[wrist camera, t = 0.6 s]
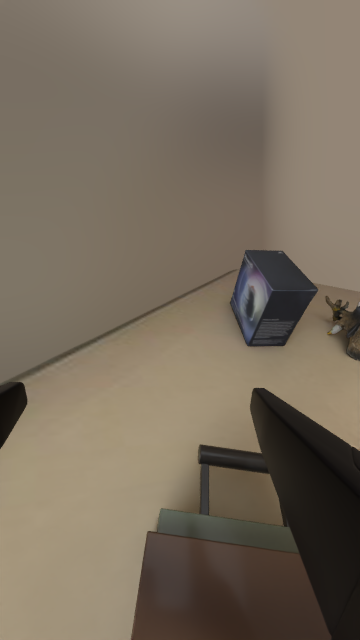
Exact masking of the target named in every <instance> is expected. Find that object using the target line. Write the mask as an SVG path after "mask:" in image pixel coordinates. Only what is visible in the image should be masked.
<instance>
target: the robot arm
mask: <svg viewBox="0 0 360 640" xmlns="http://www.w3.org/2000/svg"><path fill="white" fill-rule="evenodd" d="M26 405H27V396H26V391H25V386H24V384H23V383H21V382H9V383H7V384H4V385H2V386H0V449H1V447H2V446H3V444H4V443H5V441H6V440H7V438H8V436H9V435H10V433H11V431H12V429H13V428H14V426H15V424H16V423H17V421H18V419H19V418H20V416H21V414H22V413H23V411H24V409H25V408H26ZM250 411H251V415H252V419H253V423H254V427H255V430H256V434H257V438H258V442H259V446H260V449H261V452H262V455H263V458H264V460H265V463H266V466H267V468H268V471H269V474H270V476H271V479H272V482H273V484H274V487H275V490H276V492H277V495H278V498H279V500H280V503H281V506H282V508H283V511H284V514H285V516H286V519H287V522H288V524H289V527H290V530H291V532H292V535H293V538H294V540H295V543H296V546H297V548H298V551H299V554H300V556H301V559H302V562H303V564H304V567H305V570H306V572H307V575H308V578H309V580H310V583H311V586H312V588H313V591H314V594H315V596H316V599H317V602H318V604H319V607H320V610H321V612H322V615H323V618H324V620H325V623H326V626H327V628H328V631H329V633H330V635H331V636H332V637H331V639H332V640H360V451H359V450H357V449H356V448H354V447H351V445H349V444H348V443H346V442H345V441H343V440H342V439H340V438H339V437H337V436H336V435H334V434H333V433H331V432H330V431H328V430H327V429H325V428H324V427H322V426H321V425H319V424H318V423H316V422H315V421H313V420H312V419H310V418H309V417H307V416H306V415H304V414H303V413H301V412H299V411H298V410H296V409H295V408H293V407H292V406H290V405H289V404H287V403H286V402H284V401H283V400H281V399H280V398H278V397H277V396H275V395H274V394H272V393H271V392H269V391H268V390H266V389H265V388H254V389H253V391H252V397H251V404H250Z"/></svg>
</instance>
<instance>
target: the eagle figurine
mask: <svg viewBox="0 0 360 640" xmlns="http://www.w3.org/2000/svg"><path fill="white" fill-rule="evenodd" d="M326 302H327V304H328V305H329V306H330V307H331V308H332V310H333V321H336V320H339V321H338V322H337V323H336V325H335V326H334V327H333V328H332V329H331V331H330V332H328V333H327V334H335V333H337V332H339V331H340V330H342V329H346V331H347V338H349V339H350V340H349V345H348V348H347V354H349V355H350V356H351V357H354V359H355V360H359V361H360V302H359V303H358V305H357V307H356V309H355V310H354V311H353V312H349V311H346V310H345V309H346V308H348V305H349V302H348V301H347V303H346V305H344V306H343V307H341V308H340V306H341V302H342V300H337V301H336V303H335V304H333V303H332V302H331V301H330V300H329V297H328V296H326ZM340 314H342V316H343V317H340V316H339V315H340Z"/></svg>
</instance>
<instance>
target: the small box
mask: <svg viewBox="0 0 360 640" xmlns="http://www.w3.org/2000/svg"><path fill="white" fill-rule="evenodd" d="M317 292H318V289H317V287H316V286H315V285H314V284H313V283H312V282H311V281H310V280H309V279H308V278H307V277H306V276H305V275H304V274H303V273H302V272H301V270H300V269H299V268H298V267H297V266H296V265H295V264H294V263H293V262H292V261H291V260H290V259H289V258H288V256H287V255H286V254H285V253H284V252H283V251H264V250H246V251H245V255H244V258H243V261H242V265H241V268H240V272H239V275H238V278H237V282H236V285H235V288H234V292H233V295H232V298H231V302H230V304H231V306H232V309H233V311H234V314H235V316H236V319H237V321H238V324H239V326H240V329H241V331H242V334H243V336H244V338H245V341H246V343H247V346H284V345H285V344H286V342H287V340H288V338H289V337H290V335H291V333H292V332H293V330H294V328H295V327H296V325H297V323H298V322H299V320H300V318H301V317H302V315H303V313H304V312H305V309H306V308H307V306H308V305H309V303H310V302H311V300H312V299H313V297H314V296H315V295H316V293H317Z"/></svg>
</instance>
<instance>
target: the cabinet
mask: <svg viewBox="0 0 360 640" xmlns="http://www.w3.org/2000/svg"><path fill="white" fill-rule="evenodd" d="M331 637H332V636H331V635H330V633H329V631H328V628H327V626H326V623H325V620H324V618H323V615H322V612H321V610H320V607H319V604H318V602H317V599H316V596H315V594H314V591H313V588H312V586H311V583H310V580H309V578H308V575H307V572H306V570H305V567H304V564H303V562H302V559H301V556H300V554H299V553H293V552H286V551H280V550H273V549H266V548H259V547H253V546H246V545H239V544H232V543H226V542H219V541H212V540H205V539H199V538H192V537H185V536H178V535H172V534H165V533H158V532H151V531H148V532H147V538H146V544H145V551H144V557H143V564H142V570H141V577H140V584H139V590H138V597H137V603H136V610H135V616H134V623H133V630H132V636H131V640H332V639H331Z"/></svg>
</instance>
